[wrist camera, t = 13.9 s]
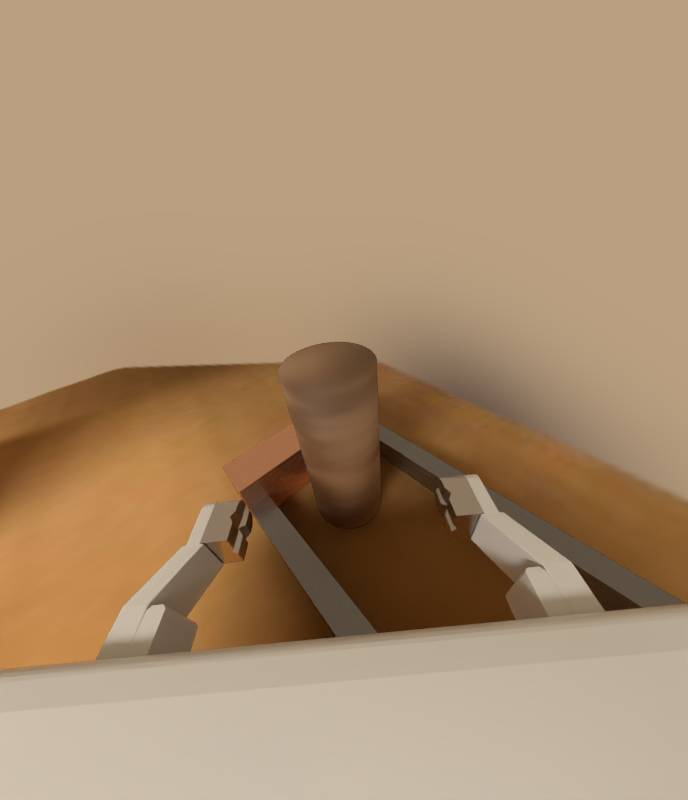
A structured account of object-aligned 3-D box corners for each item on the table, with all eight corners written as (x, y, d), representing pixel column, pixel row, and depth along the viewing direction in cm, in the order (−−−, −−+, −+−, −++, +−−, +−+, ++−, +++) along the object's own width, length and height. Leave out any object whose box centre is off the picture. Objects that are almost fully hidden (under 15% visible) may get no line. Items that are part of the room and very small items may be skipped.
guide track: (241, 497, 21) (222, 467, 19) (349, 419, 27) (345, 389, 25) (730, 1219, 6) (989, 1586, 3) (727, 659, 12) (814, 639, 9)
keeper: (305, 497, 21) (259, 368, 13) (350, 461, 23) (332, 335, 16) (347, 544, 17) (318, 407, 10) (394, 495, 20) (397, 358, 13)
